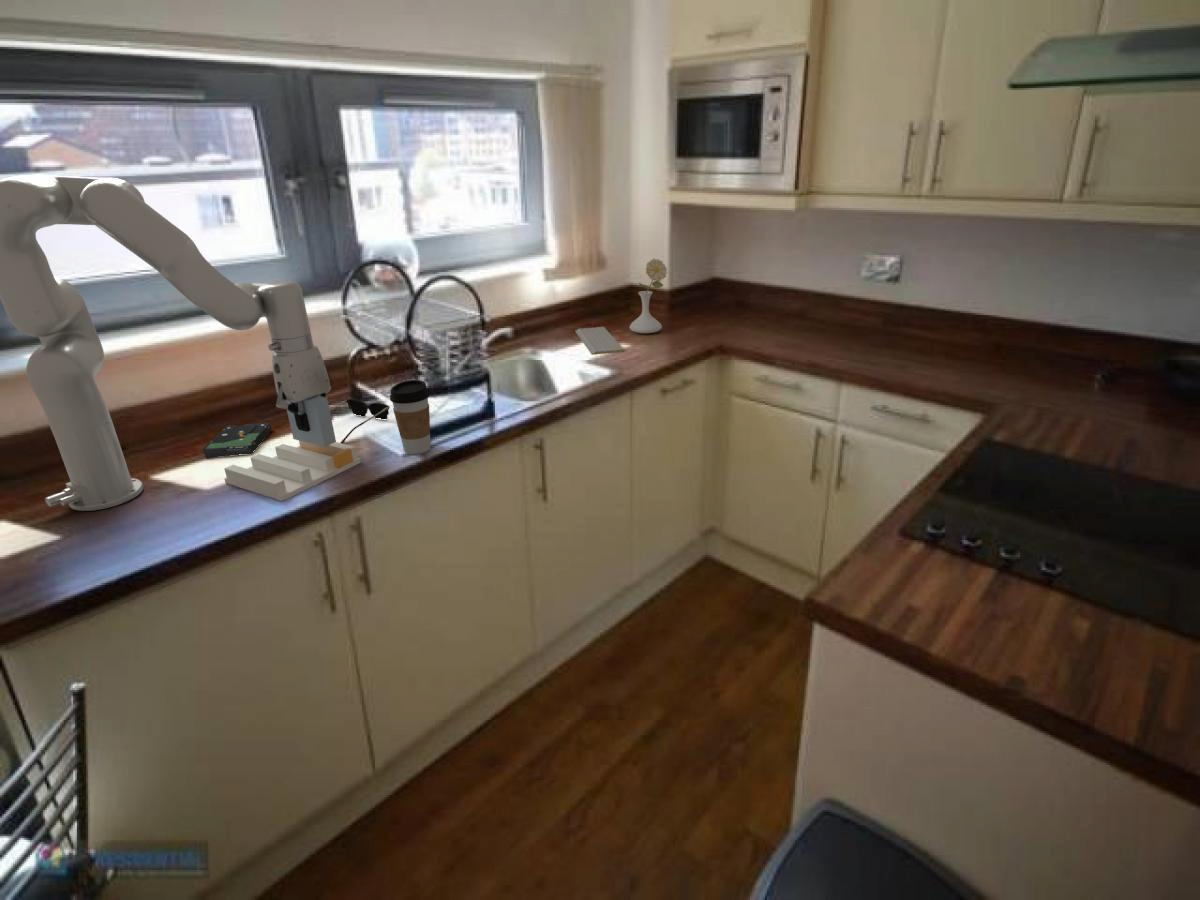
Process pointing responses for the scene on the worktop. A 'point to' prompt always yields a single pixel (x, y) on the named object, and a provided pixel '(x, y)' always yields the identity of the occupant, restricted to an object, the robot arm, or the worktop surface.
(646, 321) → the flower in vase
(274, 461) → the rack
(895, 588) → the worktop surface
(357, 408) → the sunglasses
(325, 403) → the panel
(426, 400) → the coffee cup
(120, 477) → the robot arm
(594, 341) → the baseboard
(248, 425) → the disk drive
